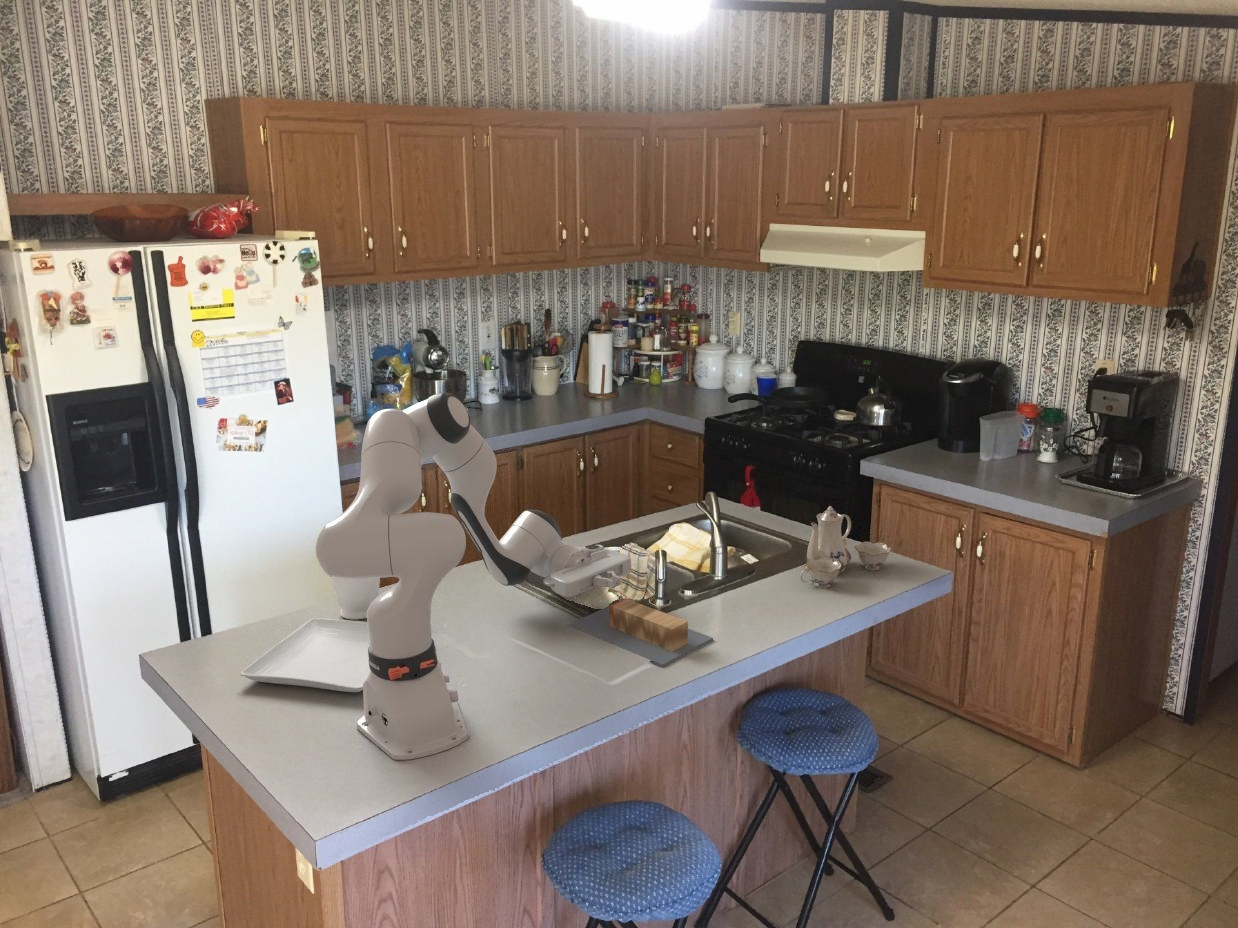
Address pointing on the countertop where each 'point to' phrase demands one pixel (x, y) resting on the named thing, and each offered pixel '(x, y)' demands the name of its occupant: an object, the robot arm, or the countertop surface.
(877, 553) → the chinaware
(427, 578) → the robot arm
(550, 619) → the countertop surface
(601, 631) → the mat
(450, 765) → the countertop surface
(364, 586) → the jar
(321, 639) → the square plate
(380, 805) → the countertop surface
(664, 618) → the oak block
